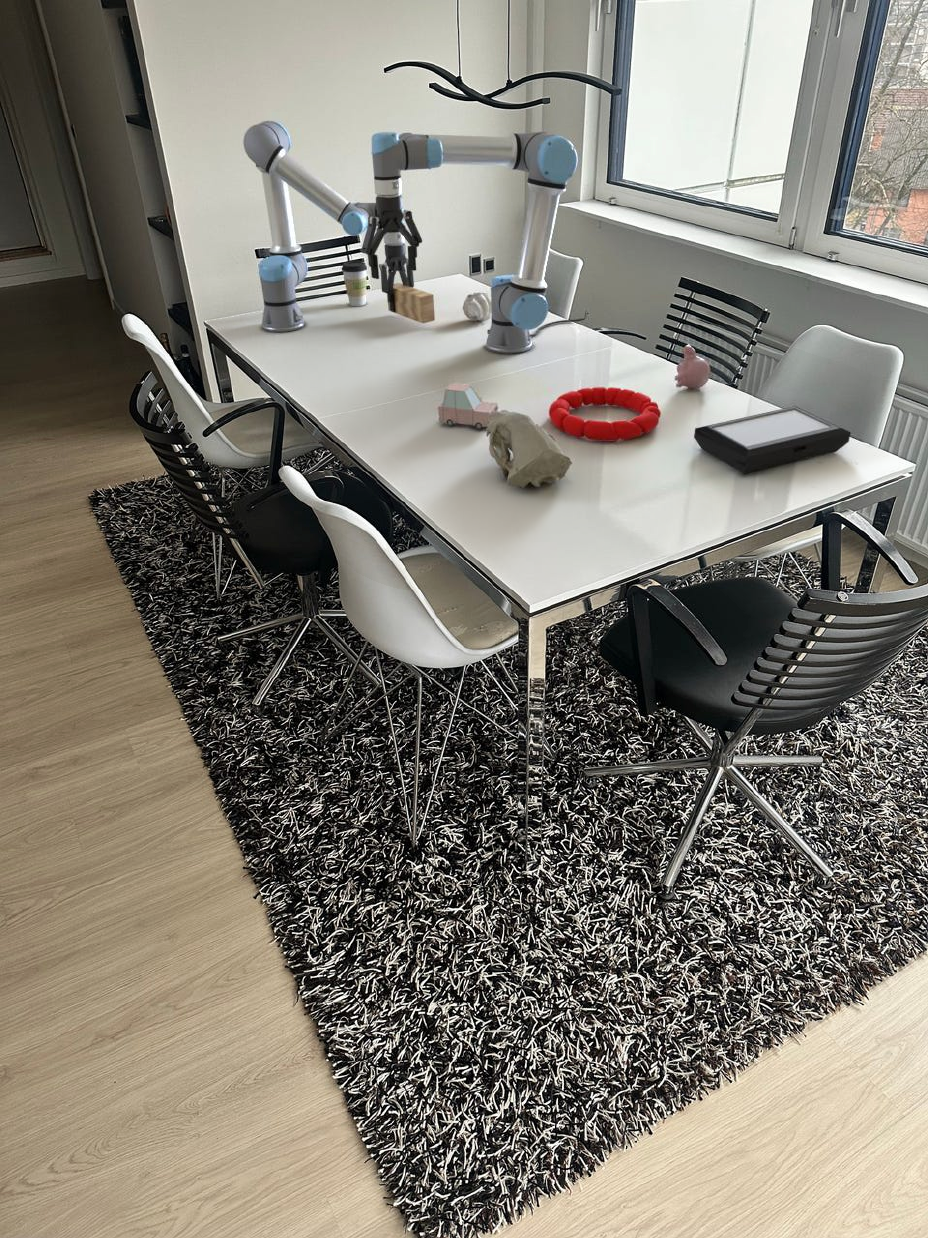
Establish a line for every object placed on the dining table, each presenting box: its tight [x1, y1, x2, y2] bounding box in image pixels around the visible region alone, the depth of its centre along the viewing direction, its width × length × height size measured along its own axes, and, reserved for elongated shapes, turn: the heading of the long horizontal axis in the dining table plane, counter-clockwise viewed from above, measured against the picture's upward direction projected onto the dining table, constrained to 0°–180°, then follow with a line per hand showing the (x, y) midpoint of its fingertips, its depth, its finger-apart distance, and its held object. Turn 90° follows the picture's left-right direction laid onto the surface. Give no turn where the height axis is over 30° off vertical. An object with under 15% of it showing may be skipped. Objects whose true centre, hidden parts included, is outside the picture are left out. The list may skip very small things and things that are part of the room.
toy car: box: [437, 382, 499, 431], centre depth 243 cm, size 9×15×10 cm, turn 70°
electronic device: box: [693, 405, 852, 475], centre depth 223 cm, size 32×6×20 cm
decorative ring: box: [548, 386, 661, 442], centre depth 242 cm, size 7×30×30 cm
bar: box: [387, 282, 436, 324], centre depth 324 cm, size 23×5×9 cm, turn 37°
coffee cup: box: [341, 260, 368, 307], centre depth 344 cm, size 10×10×15 cm
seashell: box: [462, 292, 492, 322], centre depth 323 cm, size 10×15×10 cm
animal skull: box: [485, 409, 573, 489], centre depth 216 cm, size 17×25×20 cm
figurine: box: [674, 344, 711, 390], centre depth 259 cm, size 9×11×12 cm
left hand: (399, 309), depth 331 cm, fingers closed on bar, 5 cm apart
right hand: (394, 273), depth 262 cm, fingers open, 13 cm apart
